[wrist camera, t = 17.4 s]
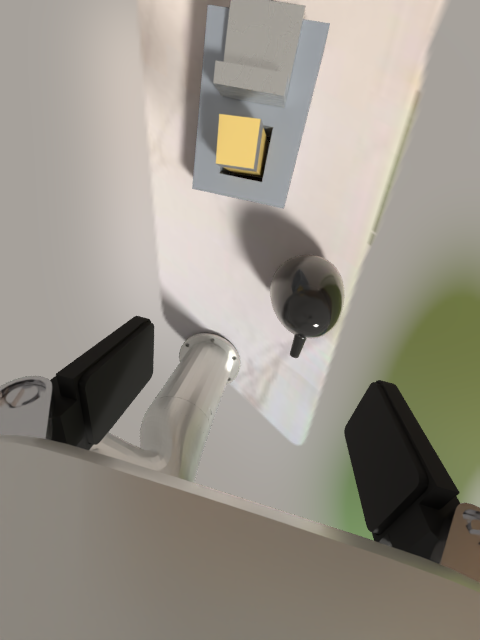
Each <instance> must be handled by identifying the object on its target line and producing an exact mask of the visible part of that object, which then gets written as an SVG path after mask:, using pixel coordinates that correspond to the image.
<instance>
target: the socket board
mask: <svg viewBox="0 0 480 640" xmlns="http://www.w3.org/2000/svg"><path fill="white" fill-rule="evenodd" d="M229 9H230V8H227V7H220V6H214V5H208V8H207V20H206V32H205V44H204V56H203V68H202V80H201V91H200V103H199V115H198V127H197V139H196V151H195V163H194V175H193V187H192V189H197V190H201V191H206V192H210V193H215V194H219V195H224V196H229V197H233V198H238V199H242V200H247V201H251V202H256V203H260V204H265V205H269V206H274V207H279V208H284V206H285V202H286V198H287V194H288V190H289V187H290V183H291V179H292V175H293V171H294V167H295V163H296V159H297V155H298V151H299V147H300V143H301V139H302V135H303V131H304V127H305V123H306V119H307V115H308V112H309V108H310V104H311V100H312V96H313V92H314V88H315V84H316V80H317V76H318V72H319V68H320V64H321V60H322V56H323V52H324V48H325V43H326V39H327V34H328V30H329V25H330V23H323V22H317V21H311V20H303V24H302V29H301V34H300V38H299V43H298V48H297V52H296V57H295V61H294V66H293V71H292V75H291V80H290V85H289V89H288V94H287V99H286V103H285V108H281V107H275V106H270V105H265V104H259V103H254V102H249V101H243V100H238V99H232V98H227V97H222V96H221V94H220V93H219V91H218V90H217V88H216V87H215V85H214V83H213V80H214V71H215V61H222V62H224V53H225V44H226V36H227V27H228V18H229ZM219 114H225V115H233V116H241V117H249V118H258V119H261V120H262V123H263V128H264V131H265V134H266V136H268V137H271V140H270V145H269V150H268V155H267V160H266V165H265V170H264V174H263V179H262V182H259V181H254V180H249V179H244V178H240V177H235V176H230V175H229V170H227V169H225V168H224V167H220V166H218V165H217V164H216V153H217V139H218V126H219Z"/></svg>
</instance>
